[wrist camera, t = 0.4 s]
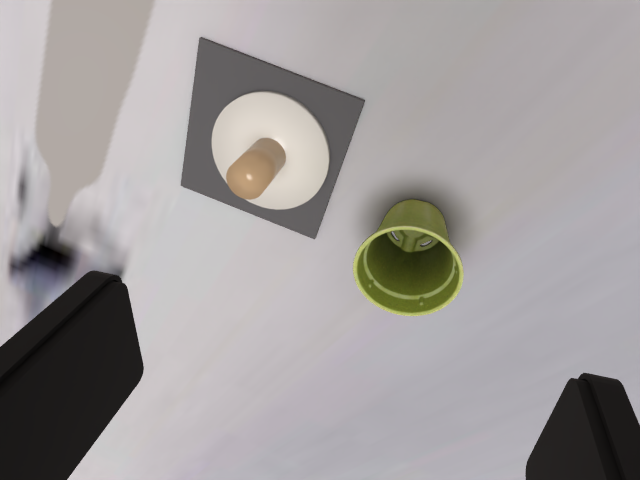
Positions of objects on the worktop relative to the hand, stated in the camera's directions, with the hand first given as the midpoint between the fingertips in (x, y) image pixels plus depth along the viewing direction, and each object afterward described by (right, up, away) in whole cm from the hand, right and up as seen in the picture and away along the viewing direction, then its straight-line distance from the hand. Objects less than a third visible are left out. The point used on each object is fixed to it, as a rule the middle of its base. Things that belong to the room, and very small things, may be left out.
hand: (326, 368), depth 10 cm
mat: (-6, +12, +36) cm, 39 cm away
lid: (-5, +12, +36) cm, 38 cm away
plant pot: (+10, +4, +37) cm, 38 cm away
